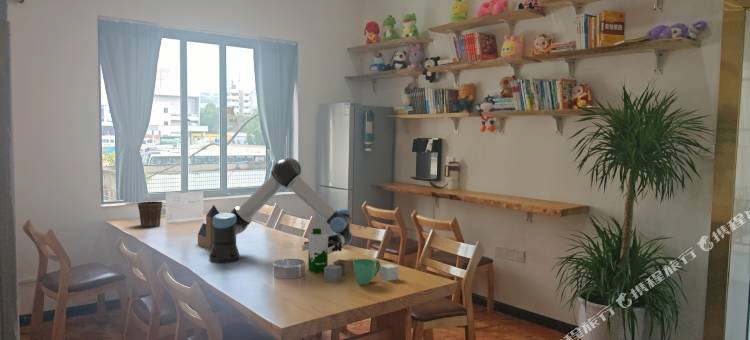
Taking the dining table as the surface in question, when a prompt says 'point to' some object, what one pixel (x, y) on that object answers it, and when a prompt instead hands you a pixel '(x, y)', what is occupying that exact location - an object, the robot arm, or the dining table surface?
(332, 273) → the slate grey block
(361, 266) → the mug
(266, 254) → the dining table surface
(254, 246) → the dining table surface
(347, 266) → the walnut block
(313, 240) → the soya milk
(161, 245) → the dining table surface
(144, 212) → the plant pot
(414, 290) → the dining table surface
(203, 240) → the toy building blocks
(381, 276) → the white cube
